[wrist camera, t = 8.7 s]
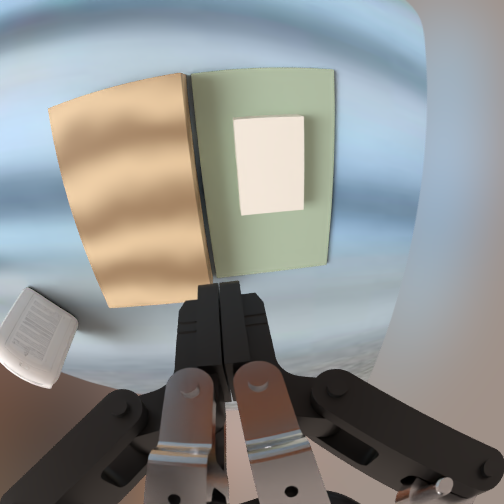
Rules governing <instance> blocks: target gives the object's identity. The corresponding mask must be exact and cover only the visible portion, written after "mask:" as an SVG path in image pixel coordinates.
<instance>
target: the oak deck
mask: <svg viewBox="0 0 504 504" xmlns="http://www.w3.org/2000/svg"><path fill="white" fill-rule="evenodd" d="M48 112H49V118H50V124H51V130H52V135H53V140H54V145H55V150H56V154H57V159H58V163H59V167H60V171H61V175H62V179H63V183H64V187H65V190H66V194H67V197H68V201H69V204H70V207H71V210H72V214H73V217H74V220H75V223H76V226H77V229H78V232H79V235H80V238H81V240H82V243H83V246H84V249H85V251H86V254H87V256H88V259H89V262H90V264H91V267H92V269H93V272H94V274H95V276H96V279H97V281H98V283H99V286H100V288H101V290H102V293H103V295H104V297H105V299H106V302H107V304H108V306H109V308H119V307H133V306H146V305H158V304H169V303H180V302H185V301H186V300H196V299H197V296H198V285H204V284H213V276H212V270H211V264H210V258H209V252H208V246H207V240H206V233H205V227H204V220H203V214H202V207H201V200H200V193H199V186H198V178H197V171H196V163H195V155H194V147H193V139H192V130H191V121H190V112H189V102H188V92H187V82H186V75H185V74H183V73H175V74H169V75H164V76H158V77H153V78H148V79H144V80H139V81H135V82H130V83H126V84H122V85H118V86H115V87H111V88H107V89H104V90H100V91H97V92H94V93H90V94H87V95H84V96H81V97H78V98H75V99H72V100H69V101H67V102H64V103H61V104H58V105H56V106H53V107H51V108H48Z"/></svg>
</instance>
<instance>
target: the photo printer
mask: <svg viewBox="0 0 504 504" xmlns="http://www.w3.org/2000/svg"><path fill="white" fill-rule="evenodd" d="M77 328H78V321H77V319H76V318H75V317H74V316H72V315H71V314H69V313H68V312H66V311H65V310H63V309H61V308H60V307H58V306H57V305H55V304H54V303H52V302H50V301H49V300H47V299H46V298H44V297H43V296H41V295H40V294H38V293H37V292H35V291H34V290H32V289H30V288H28V287H26V288H25V289H23V291H22V292H21V294H20V295H19V297H18V298H17V300H16V301H15V303H14V304H13V306H12V308H11V309H10V311H9V312H8V314H7V316H6V317H5V319H4V321H3V322H2V324H1V326H0V362H1V363H2V364H3V365H4V366H5V367H6V368H7V369H8V370H9V371H11V372H12V373H13V374H15V375H17V376H18V377H20V378H21V379H23V380H25V381H27V382H29V383H32V384H34V385H37V386H41V387H45V388H50V389H51V387H52V385H53V384H54V383H55V382H56V381H57V380H58V378H59V375H60V373H61V370H62V367H63V364H64V361H65V359H66V356H67V353H68V351H69V348H70V346H71V343H72V340H73V338H74V335H75V333H76V330H77Z"/></svg>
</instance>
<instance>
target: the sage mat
mask: <svg viewBox="0 0 504 504" xmlns="http://www.w3.org/2000/svg"><path fill="white" fill-rule="evenodd" d="M191 79H192V90H193V100H194V110H195V120H196V129H197V138H198V147H199V155H200V163H201V171H202V179H203V187H204V194H205V202H206V209H207V216H208V223H209V230H210V237H211V243H212V250H213V256H214V263H215V269H216V275H217V278H221V277H230V276H239V275H248V274H256V273H265V272H273V271H281V270H289V269H297V268H305V267H313V266H321V265H326V263H327V253H328V242H329V231H330V218H331V204H332V187H333V166H334V127H335V97H334V70H332V69H316V68H248V69H232V70H220V71H211V72H202V73H194V74H191ZM283 114H299V115H301V116H304V210H294V211H283V212H272V213H262V214H252V215H243V216H241V211H240V204H239V192H238V180H237V168H236V156H235V143H234V130H233V117H245V116H260V115H283Z"/></svg>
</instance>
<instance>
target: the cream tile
mask: <svg viewBox="0 0 504 504" xmlns="http://www.w3.org/2000/svg"><path fill="white" fill-rule="evenodd" d="M233 130H234V143H235V156H236V168H237V180H238V192H239V204H240V211H241V216H243V215H252V214H262V213H272V212H283V211H294V210H304V116H301V115H299V114H283V115H260V116H245V117H233Z"/></svg>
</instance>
